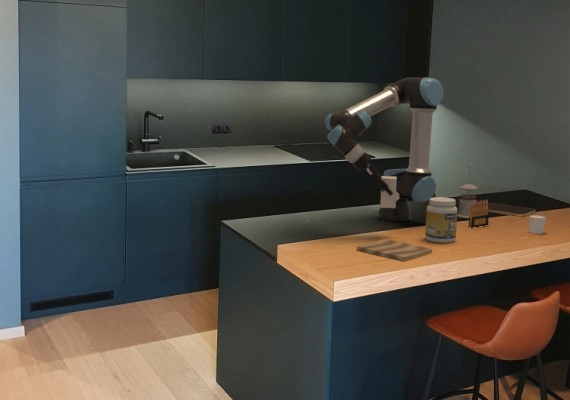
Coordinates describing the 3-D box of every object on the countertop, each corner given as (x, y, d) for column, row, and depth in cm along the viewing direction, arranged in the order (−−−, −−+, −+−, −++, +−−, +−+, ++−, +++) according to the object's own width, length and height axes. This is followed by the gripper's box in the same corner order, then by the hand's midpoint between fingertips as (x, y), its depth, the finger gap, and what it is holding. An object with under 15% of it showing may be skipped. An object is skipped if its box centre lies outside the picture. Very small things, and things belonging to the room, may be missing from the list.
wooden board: (356, 250, 273) (356, 246, 273) (385, 242, 286) (385, 238, 285) (404, 261, 258) (404, 257, 258) (431, 252, 270) (432, 248, 270)
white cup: (536, 235, 301) (537, 218, 300) (524, 231, 307) (525, 215, 306) (548, 233, 304) (549, 217, 303) (535, 230, 310) (537, 214, 309)
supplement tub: (449, 245, 282) (452, 203, 279) (420, 241, 289) (422, 200, 286) (459, 239, 293) (462, 198, 290) (431, 235, 299) (433, 195, 296)
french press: (455, 216, 336) (457, 164, 332) (458, 212, 347) (461, 161, 342) (476, 218, 333) (479, 165, 328) (479, 214, 343) (482, 162, 339)
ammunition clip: (471, 228, 312) (473, 201, 310) (468, 227, 314) (469, 200, 312) (488, 225, 318) (490, 199, 316) (485, 225, 320) (486, 198, 317)
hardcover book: (522, 218, 338) (522, 213, 337) (477, 211, 353) (477, 206, 352) (536, 213, 349) (536, 208, 349) (492, 206, 364) (492, 202, 364)
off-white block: (380, 207, 290) (381, 178, 287) (380, 204, 295) (381, 176, 293) (395, 208, 289) (396, 178, 287) (395, 205, 295) (396, 176, 292)
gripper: (352, 160, 300) (390, 200, 301) (350, 167, 282) (390, 209, 283) (365, 148, 299) (403, 188, 299) (364, 154, 280) (404, 196, 281)
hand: (397, 198), depth 291 cm, fingers closed on off-white block, 6 cm apart
